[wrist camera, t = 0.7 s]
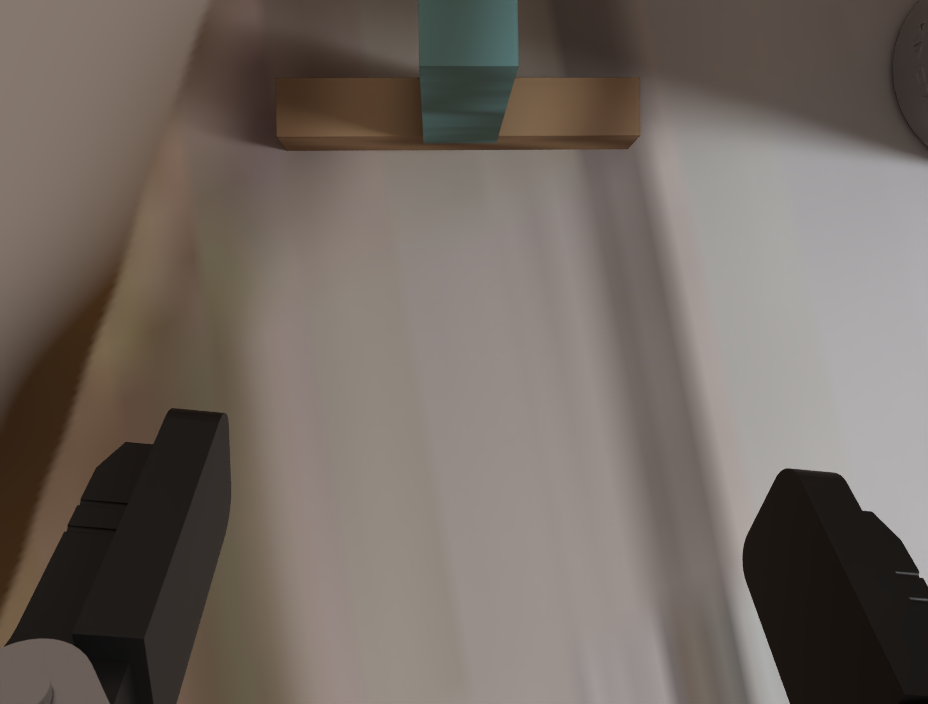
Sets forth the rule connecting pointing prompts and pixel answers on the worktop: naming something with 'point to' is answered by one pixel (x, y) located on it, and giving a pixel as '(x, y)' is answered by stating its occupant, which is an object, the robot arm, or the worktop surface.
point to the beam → (459, 96)
